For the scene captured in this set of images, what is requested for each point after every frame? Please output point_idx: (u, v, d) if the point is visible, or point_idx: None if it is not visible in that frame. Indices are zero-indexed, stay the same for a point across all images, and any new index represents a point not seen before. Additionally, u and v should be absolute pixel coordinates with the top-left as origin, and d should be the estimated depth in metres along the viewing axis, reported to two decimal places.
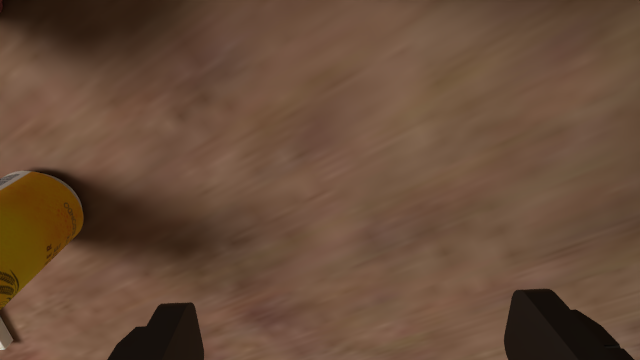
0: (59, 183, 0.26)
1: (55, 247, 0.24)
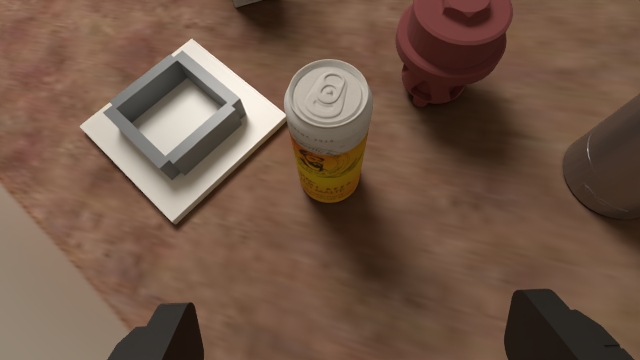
0: None
1: (343, 188, 0.33)
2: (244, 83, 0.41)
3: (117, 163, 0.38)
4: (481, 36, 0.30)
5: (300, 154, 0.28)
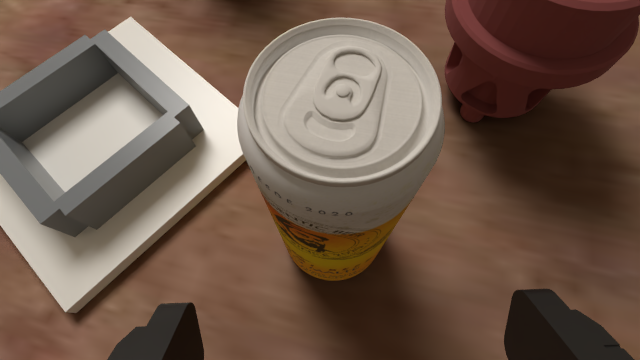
0: None
1: (359, 266, 0.19)
2: (203, 83, 0.27)
3: None
4: None
5: (278, 221, 0.14)
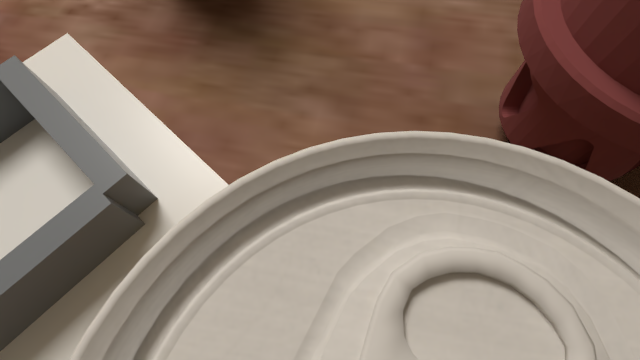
0: None
1: None
2: (161, 128, 0.19)
3: None
4: None
5: None
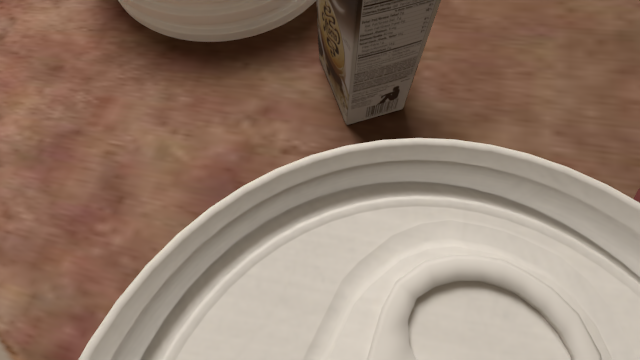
0: None
1: None
2: None
3: None
4: None
5: None
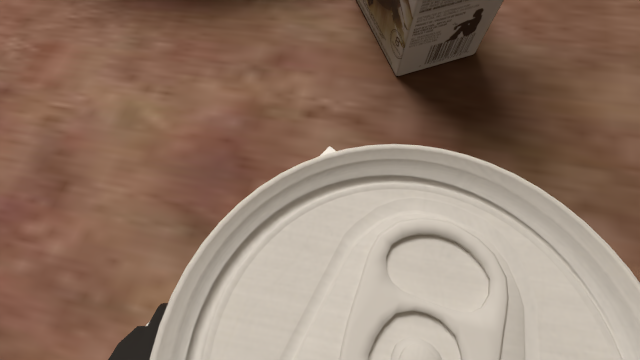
0: None
1: None
2: None
3: None
4: None
5: None
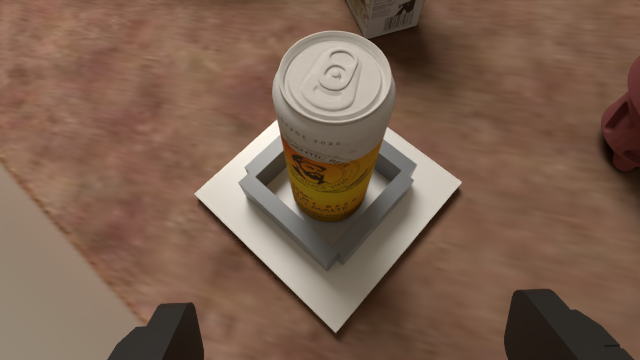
0: None
1: (348, 205, 0.26)
2: (399, 139, 0.33)
3: (250, 246, 0.29)
4: None
5: (293, 161, 0.21)
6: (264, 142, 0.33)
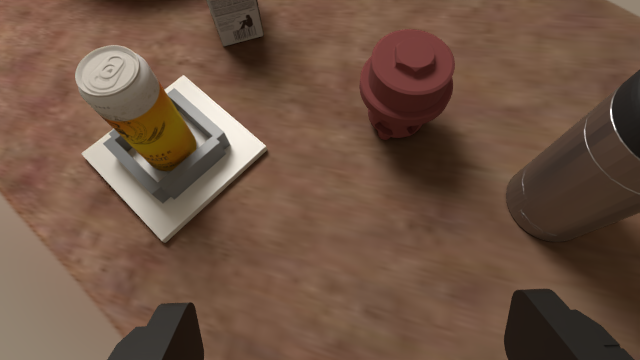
0: (195, 147, 0.44)
1: (167, 156, 0.40)
2: (229, 117, 0.47)
3: (114, 187, 0.43)
4: (426, 87, 0.35)
5: (107, 122, 0.35)
6: None
